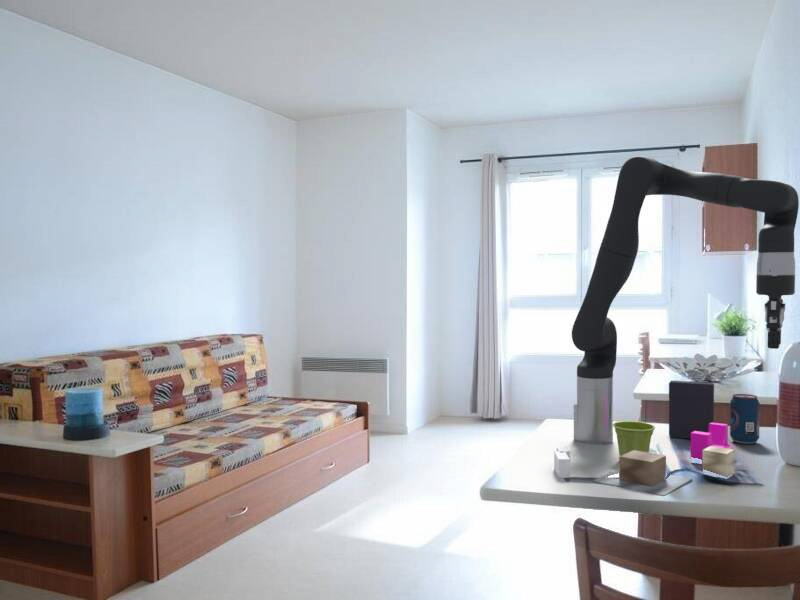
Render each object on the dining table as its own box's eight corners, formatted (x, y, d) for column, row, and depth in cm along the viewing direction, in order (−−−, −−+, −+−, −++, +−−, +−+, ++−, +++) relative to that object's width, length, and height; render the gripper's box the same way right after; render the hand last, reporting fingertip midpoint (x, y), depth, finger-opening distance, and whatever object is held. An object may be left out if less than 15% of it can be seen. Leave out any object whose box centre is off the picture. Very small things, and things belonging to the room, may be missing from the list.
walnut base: (592, 485, 146) (592, 456, 146) (624, 470, 157) (624, 444, 157) (664, 500, 136) (664, 469, 136) (692, 483, 147) (692, 455, 147)
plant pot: (661, 461, 165) (661, 424, 165) (644, 469, 158) (644, 431, 158) (623, 454, 171) (623, 419, 171) (605, 462, 164) (605, 425, 164)
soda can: (726, 437, 188) (726, 393, 188) (753, 438, 188) (753, 393, 187) (735, 443, 181) (736, 397, 181) (763, 444, 181) (764, 398, 180)
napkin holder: (571, 488, 146) (571, 461, 146) (524, 478, 154) (524, 452, 153) (604, 473, 157) (604, 448, 157) (559, 464, 165) (559, 440, 164)
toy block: (719, 469, 158) (719, 436, 158) (690, 465, 162) (690, 432, 162) (738, 456, 170) (738, 425, 169) (711, 452, 174) (711, 422, 173)
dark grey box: (713, 437, 188) (714, 382, 188) (712, 441, 185) (713, 384, 184) (670, 434, 193) (670, 379, 193) (668, 437, 190) (668, 382, 189)
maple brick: (702, 477, 152) (702, 450, 151) (710, 472, 155) (710, 445, 155) (726, 482, 148) (726, 453, 148) (734, 476, 152) (734, 449, 152)
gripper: (758, 273, 163) (757, 343, 163) (754, 273, 150) (753, 348, 151) (795, 273, 159) (794, 344, 159) (794, 273, 147) (792, 350, 147)
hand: (774, 346), depth 155 cm, fingers open, 8 cm apart
